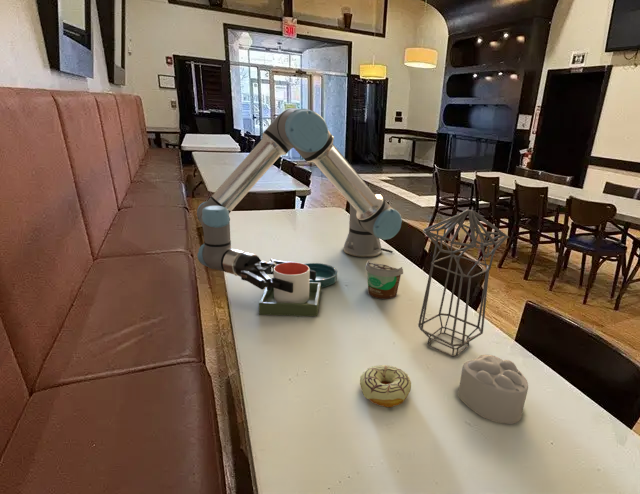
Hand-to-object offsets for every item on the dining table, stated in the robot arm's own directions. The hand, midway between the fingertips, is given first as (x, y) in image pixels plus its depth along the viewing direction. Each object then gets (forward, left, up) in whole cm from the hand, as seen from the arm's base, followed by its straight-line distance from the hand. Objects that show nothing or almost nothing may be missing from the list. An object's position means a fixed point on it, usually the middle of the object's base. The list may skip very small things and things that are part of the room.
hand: (304, 281), depth 116 cm
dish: (-1, -20, -8) cm, 22 cm away
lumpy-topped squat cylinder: (-42, +41, -8) cm, 59 cm away
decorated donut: (-20, +38, -8) cm, 44 cm away
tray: (+4, -2, -8) cm, 9 cm away
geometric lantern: (-38, +19, -8) cm, 43 cm away
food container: (-22, -9, -8) cm, 25 cm away
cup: (+4, -2, -7) cm, 8 cm away
